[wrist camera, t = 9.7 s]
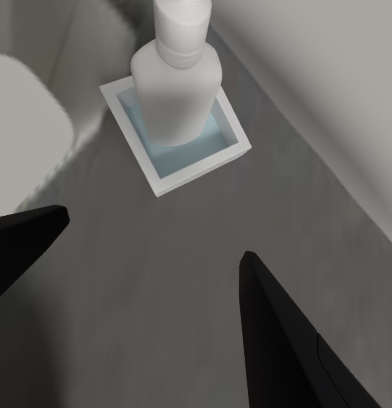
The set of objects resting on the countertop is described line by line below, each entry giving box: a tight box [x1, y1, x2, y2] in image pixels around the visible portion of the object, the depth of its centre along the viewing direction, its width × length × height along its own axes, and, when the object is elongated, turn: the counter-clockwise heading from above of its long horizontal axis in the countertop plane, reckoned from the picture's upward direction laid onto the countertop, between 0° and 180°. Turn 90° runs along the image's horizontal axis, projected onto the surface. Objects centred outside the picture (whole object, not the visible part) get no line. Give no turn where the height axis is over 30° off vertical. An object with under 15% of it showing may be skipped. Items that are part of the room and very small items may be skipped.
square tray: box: [99, 76, 252, 197], centre depth 16 cm, size 10×10×2 cm
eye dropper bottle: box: [130, 0, 222, 147], centre depth 11 cm, size 4×6×12 cm
